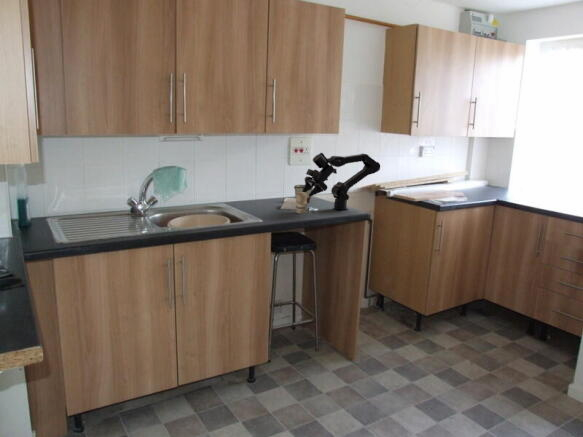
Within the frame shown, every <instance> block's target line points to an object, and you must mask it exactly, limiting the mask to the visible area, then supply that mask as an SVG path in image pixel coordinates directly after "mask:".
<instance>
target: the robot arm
mask: <svg viewBox="0 0 583 437" xmlns="http://www.w3.org/2000/svg"><path fill="white" fill-rule="evenodd" d="M312 162H313V163H314V165H315V166H317V168H319V169H321V170H320V171H319V170H317V169H314V170H313V169H310V168H308V169H307V170H306V173H305V174H306V175H307V176H306V177H304V182H305V183H304V185H305V186H304V188H303V190H302V192H307V191H308V190H310V189H312V188H313V190H312V191H311V192H310V194H309V196H311V197H313V196H315V195H317V194H320V193H322V192H326V191H327V189H328V185H327V184H326V181H327V182H328V180H329V179H328V178H329V177H331V175H332V174H336V175H337V172H338V171H337V168H340V167H343V166H345V165H346V164H351V163H352V164H353V163H359V162H362V163H363V167H362V169H361V170H359V171H357V173H355V174H354V175H352V176H351V177H350V178H348V179H346V180H345V181H344V182H341V181H338V182H337V183H336V184H333V186H332V188H331V194H332V196H333V198H334V202H333V204H334V205H333V206H334V207H332V209H333V210H336V211H339V212H340V211H349V208H348V207H347V204H348V202H347V201H349V198H350V195H349V194H348V193H349V190H350V189H351V188H352V187H353V186H355V185H356V184H358V183H360V181H362V180H363V179H365V178H366V177H367V176H369V175H373V174H375V173H376V174H377V173H378V172H379V171H381V170H380V169H381V164H380V163H379V162H378V161H376V160H375V159H373V158H372V157H371V156H369V154H367V153H358V154H354V155H353V154H352V155H345V156H342V155H341V156H340V155H332V156H330V157H328V158H327V157H326V156H325V154H324V153H323V152H320V153H318V154H316V155H315V156H314V157H313V158H312ZM334 167H336V168H334Z"/></svg>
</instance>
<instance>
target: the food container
mask: <svg viewBox="0 0 583 437" xmlns="http://www.w3.org/2000/svg"><path fill="white" fill-rule="evenodd" d="M304 186H305V184H294V187H293V189H294V194H295V195H294V199H296V192H302V190H303V188H304ZM313 188H314V187H313ZM313 188H312V189H310V190H308V191H307V192H305V193H307V204H310V203H311V200H312V196H309V194H310V192H311V191H312V190H313Z"/></svg>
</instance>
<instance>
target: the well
mask: <svg viewBox="0 0 583 437" xmlns="http://www.w3.org/2000/svg"><path fill="white" fill-rule="evenodd" d="M280 210H293V211H296V198H292V197H291V198H289V197H286V198H284V200H283V204H282V205H281V207H280Z"/></svg>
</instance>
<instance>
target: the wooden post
mask: <svg viewBox="0 0 583 437" xmlns="http://www.w3.org/2000/svg"><path fill="white" fill-rule="evenodd" d="M295 199H296V210H295V213H297V214H307V208H308V207H307V205H308V203H307V193H305V192H296V198H295Z"/></svg>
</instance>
